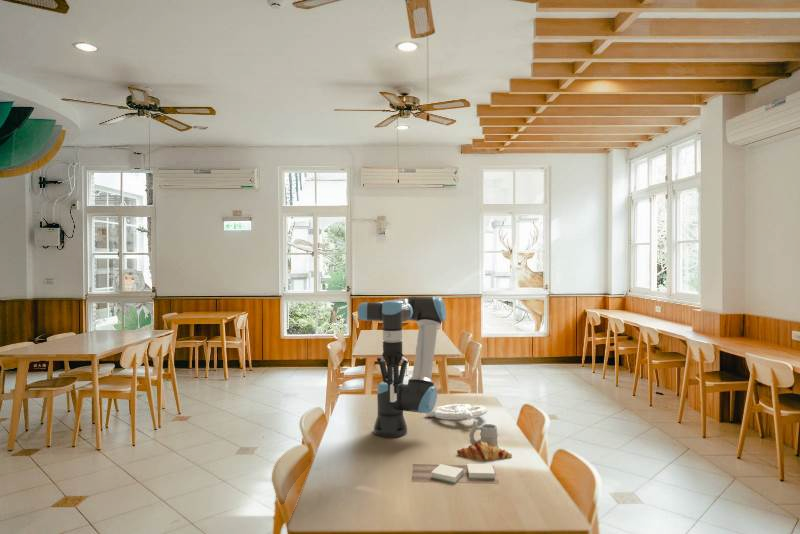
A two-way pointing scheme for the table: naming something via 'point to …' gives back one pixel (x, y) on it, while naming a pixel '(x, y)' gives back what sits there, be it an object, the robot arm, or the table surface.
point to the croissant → (484, 452)
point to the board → (424, 475)
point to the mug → (484, 434)
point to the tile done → (480, 471)
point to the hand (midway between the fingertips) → (393, 401)
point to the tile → (447, 473)
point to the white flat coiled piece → (457, 411)
